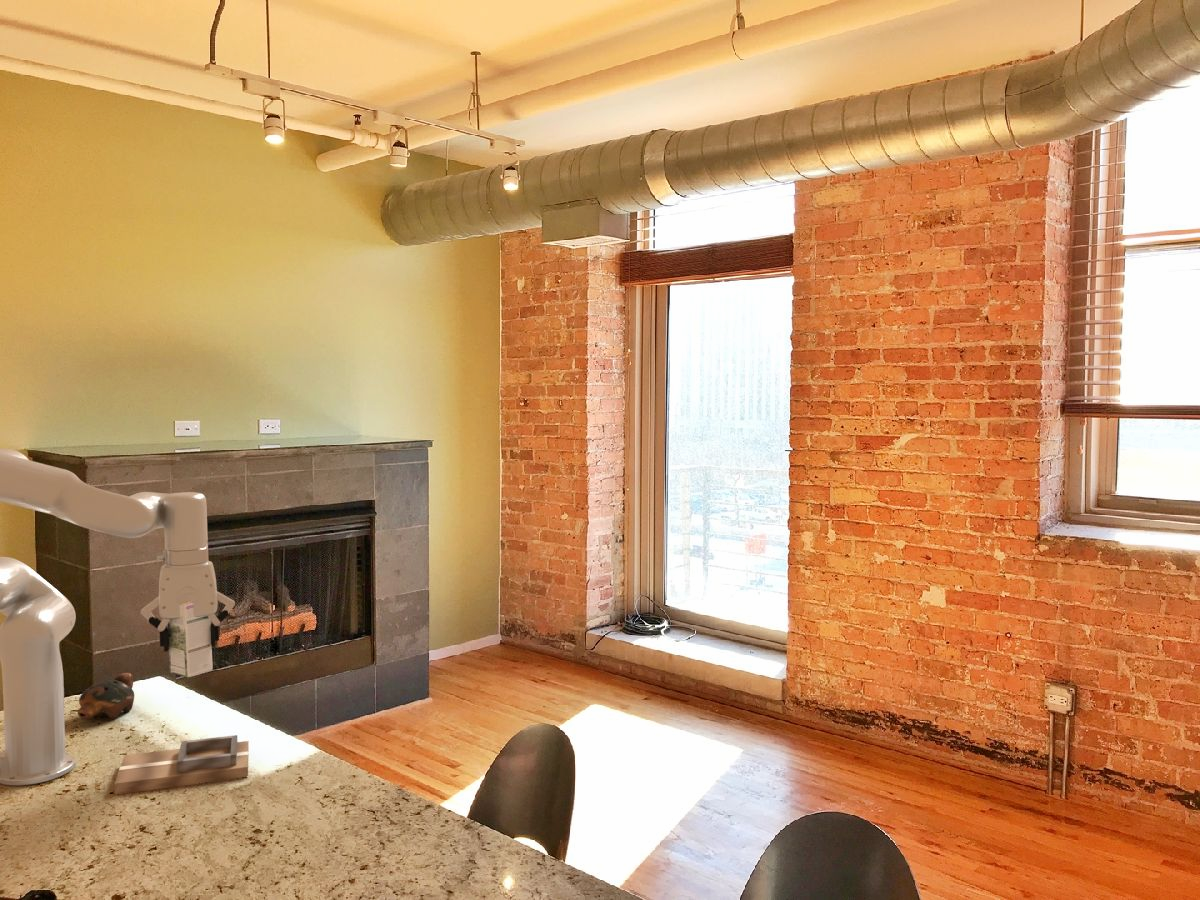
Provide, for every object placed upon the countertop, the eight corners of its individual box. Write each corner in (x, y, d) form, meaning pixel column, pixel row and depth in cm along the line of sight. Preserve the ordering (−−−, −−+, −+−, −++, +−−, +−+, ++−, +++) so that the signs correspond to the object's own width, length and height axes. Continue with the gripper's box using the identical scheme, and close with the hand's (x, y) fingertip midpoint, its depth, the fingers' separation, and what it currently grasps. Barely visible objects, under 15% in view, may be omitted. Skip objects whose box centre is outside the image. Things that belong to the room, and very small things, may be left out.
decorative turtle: (149, 704, 204) (148, 670, 203) (107, 733, 189) (106, 697, 188) (108, 699, 205) (108, 666, 204) (63, 729, 190) (62, 693, 189)
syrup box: (213, 670, 175) (211, 596, 174) (186, 678, 170) (184, 603, 169) (195, 665, 178) (192, 593, 177) (167, 673, 173) (165, 599, 172)
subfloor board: (114, 794, 159) (114, 772, 159) (124, 765, 171) (124, 745, 171) (247, 777, 167) (247, 756, 167) (248, 750, 179) (248, 731, 179)
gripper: (134, 564, 165) (138, 658, 167) (236, 557, 172) (239, 647, 173) (137, 557, 172) (141, 647, 174) (235, 550, 179) (238, 637, 180)
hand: (190, 646), depth 173 cm, fingers closed on syrup box, 7 cm apart
